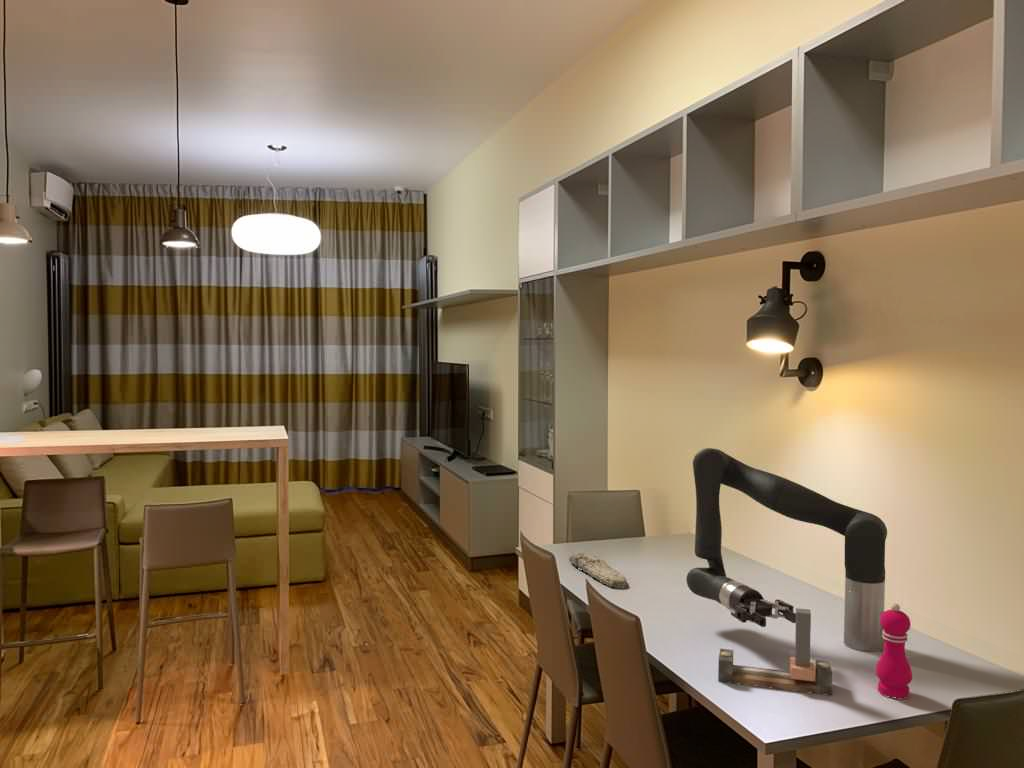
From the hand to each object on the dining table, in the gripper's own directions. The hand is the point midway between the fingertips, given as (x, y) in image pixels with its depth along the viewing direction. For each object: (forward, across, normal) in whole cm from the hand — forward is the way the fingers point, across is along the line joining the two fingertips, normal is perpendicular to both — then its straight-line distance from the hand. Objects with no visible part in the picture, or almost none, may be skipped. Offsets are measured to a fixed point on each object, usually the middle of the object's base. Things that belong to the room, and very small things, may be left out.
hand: (780, 620), depth 185 cm
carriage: (+8, 0, +9) cm, 12 cm away
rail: (+4, -5, +12) cm, 14 cm away
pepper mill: (+17, +17, +12) cm, 27 cm away
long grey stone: (-85, -10, +13) cm, 87 cm away
